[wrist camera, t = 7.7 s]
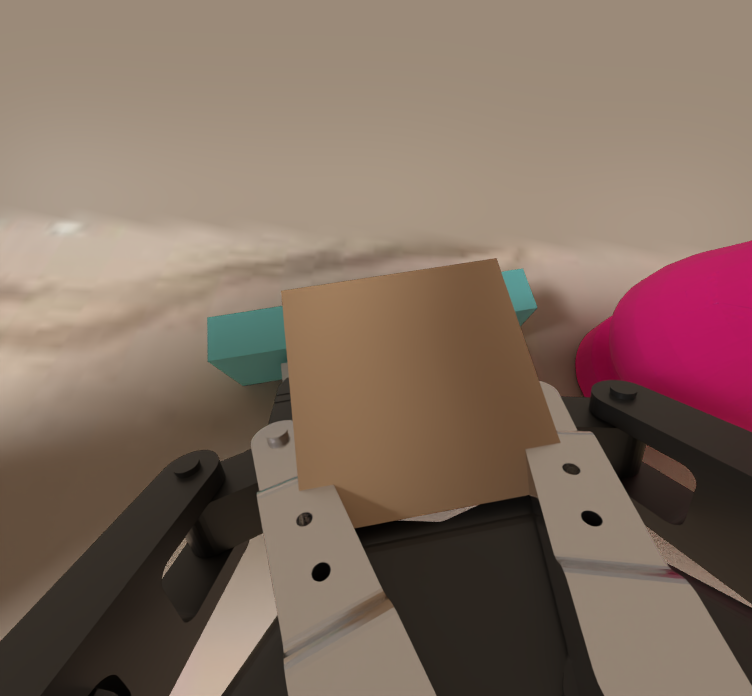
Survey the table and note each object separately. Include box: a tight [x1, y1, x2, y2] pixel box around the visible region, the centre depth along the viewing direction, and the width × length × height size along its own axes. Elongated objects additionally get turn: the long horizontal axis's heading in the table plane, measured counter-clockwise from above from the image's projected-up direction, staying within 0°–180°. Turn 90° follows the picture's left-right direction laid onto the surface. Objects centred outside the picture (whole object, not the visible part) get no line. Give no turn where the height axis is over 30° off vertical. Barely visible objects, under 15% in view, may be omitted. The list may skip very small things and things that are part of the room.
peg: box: [281, 258, 561, 528], centre depth 11 cm, size 4×4×10 cm
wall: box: [207, 269, 537, 386], centre depth 17 cm, size 14×2×4 cm, turn 100°
